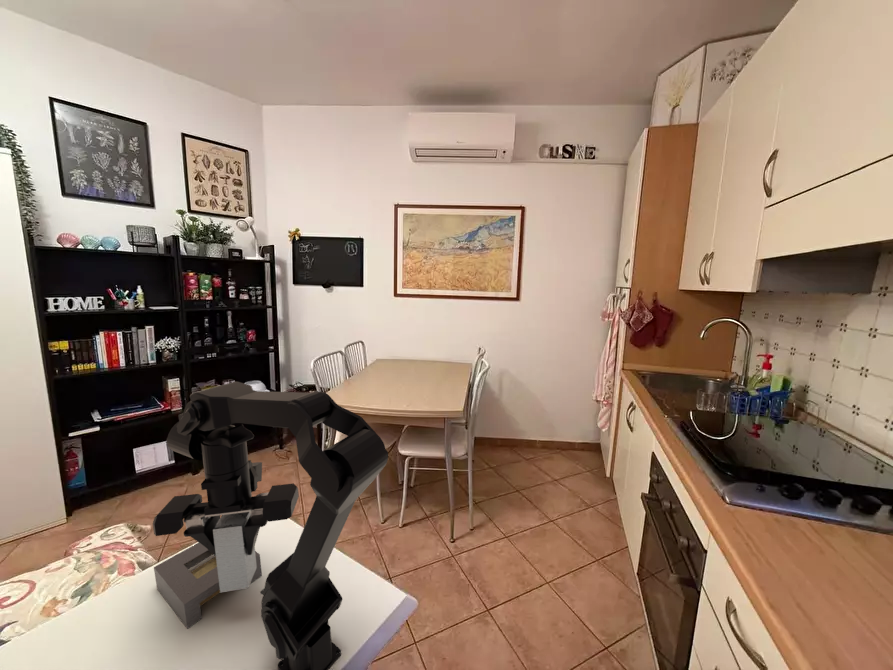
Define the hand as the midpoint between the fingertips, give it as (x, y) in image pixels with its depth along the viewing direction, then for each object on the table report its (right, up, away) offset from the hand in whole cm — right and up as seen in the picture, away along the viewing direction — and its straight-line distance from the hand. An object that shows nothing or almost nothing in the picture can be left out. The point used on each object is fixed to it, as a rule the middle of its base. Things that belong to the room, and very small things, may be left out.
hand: (236, 554), depth 55 cm
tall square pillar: (0, -5, +1) cm, 5 cm away
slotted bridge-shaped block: (-10, -10, +8) cm, 17 cm away
